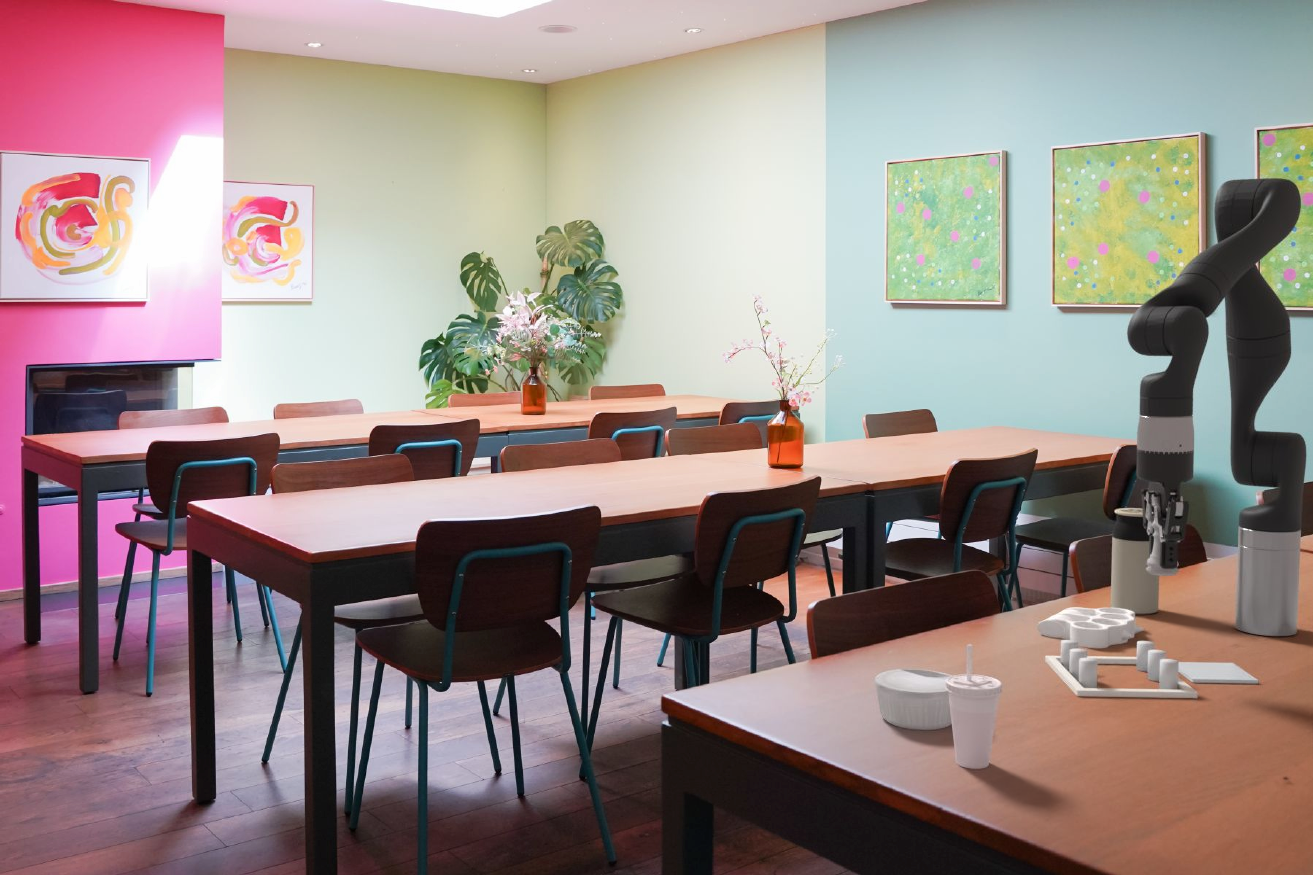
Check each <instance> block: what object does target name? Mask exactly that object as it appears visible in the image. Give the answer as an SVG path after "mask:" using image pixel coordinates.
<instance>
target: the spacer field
mask: <svg viewBox="0 0 1313 875" xmlns="http://www.w3.org/2000/svg"><path fill="white" fill-rule="evenodd" d="M1155 645H1156V644H1155V642H1153V641H1150V640H1138V641H1137V642H1136V656H1105V655H1104V656H1099V655H1097V656H1095V655H1093V656H1092V655H1090V656H1089V655H1088V650H1087V649H1083V648H1079V646H1078V642H1077V641H1074V640H1067V639H1062V640H1060V655H1045V656H1044V661H1045V663H1047V665H1048V666H1049V667H1050V668H1051V669H1052V670H1053V672H1055V673H1056V675H1057V676H1058V677H1059V679H1061V680H1062V681H1063V682H1064V683H1065V684H1066V685H1067V687H1068V688H1069V689H1070V690H1071V691H1072V692H1073V693H1074V695H1076V697H1099V698H1101V697H1102V698H1109V697H1110V698H1111V697H1112V698H1161V699H1162V698H1163V699H1164V698H1165V699H1167V698H1169V699H1176V698H1177V699H1198V696H1199V695H1198V691H1197V690H1195V689H1194V688H1193V687H1191V686H1190V685H1189V684H1188V683H1187V682H1185V681H1184V680H1183V679H1182V678H1181V677H1180V676H1179V672H1178V666H1179V662H1180V661H1179V660H1176V659H1173V658H1167V651H1165V650H1161V649H1155ZM1099 664H1101V665H1103V664H1104V665H1106V664H1107V665H1109V664H1110V665H1135V666H1136V668H1135V669H1136V670H1138V671H1140V672H1145V673H1146V672H1147V678H1146V679H1147V680H1149V681H1152V682H1159V683H1158V684H1159V685H1158V688H1155V689H1154V688H1109V687H1108V688H1101V687H1099V688H1098V665H1099Z"/></svg>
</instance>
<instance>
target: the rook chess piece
mask: <svg viewBox="0 0 1313 875" xmlns="http://www.w3.org/2000/svg"><path fill="white" fill-rule="evenodd" d="M1165 520H1166V518H1165ZM1151 525H1152V527H1153V528H1154V531H1155V532H1154V534H1153V536H1154V545H1153V551H1152V554H1151V555H1150V558H1149V559H1148V560H1147V565H1148V567H1147V568H1146V570H1147V572H1148V573H1150V574H1153V575H1159V577H1160V576H1161V577H1162V576H1163V577H1170V576H1176V575H1177V574H1178V573H1179V572H1180V569H1178V566H1180V565H1179V561H1178V560H1177V567H1176V568H1175V569H1163V568H1162V567H1161V566H1160V542H1161V541H1160V532H1159V527H1158V526H1156V524H1155V518H1154V522H1153V523H1152V524H1151ZM1173 531H1174V530H1173V527H1172V528H1171V532H1173Z"/></svg>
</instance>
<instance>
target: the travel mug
mask: <svg viewBox="0 0 1313 875" xmlns="http://www.w3.org/2000/svg"><path fill="white" fill-rule="evenodd" d="M1114 513H1115V516H1116V521H1115V524H1114V525H1113V527H1112V539H1111V540H1112V541H1111V544H1112V546H1111V577H1110V578H1111V580H1110V581H1111V583H1110V608H1121V609H1127V610H1131V611H1133V612H1134V613H1135V616H1136V615H1145V616H1146V615H1151V614H1154V613H1158V611H1159V602H1160V601H1159V597H1160V596H1159V595H1160V576H1159V575H1153V574H1150V573H1148V572H1147V570H1146V568H1147V567H1148V565H1147V560H1148V559H1149V536H1151V535H1148V533H1147V529H1145V528H1144V526H1143V509H1142V508H1140V507H1138V508H1137V507H1136V508H1135V507H1124V508H1116V509H1114ZM1152 514H1153V512H1152Z"/></svg>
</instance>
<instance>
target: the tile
mask: <svg viewBox="0 0 1313 875" xmlns="http://www.w3.org/2000/svg"><path fill="white" fill-rule="evenodd" d="M1178 662H1179V666H1178V673H1179V674H1181V675H1182V676H1183V677H1185V678H1186V679H1187V680H1189V681H1190V682H1191V683H1196V684H1253V685H1254V684H1256V685H1257V684H1259V679H1257V678H1256V677H1254V676H1252V675H1251V674H1250V673H1249V672H1247V671H1245V670H1244V669H1243V668H1242V667H1240V666H1238V665H1237V664H1235V663H1234V662H1201V661H1199V662H1197V661H1196V662H1192V661H1189V662H1188V661H1187V662H1186V661H1178Z"/></svg>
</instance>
